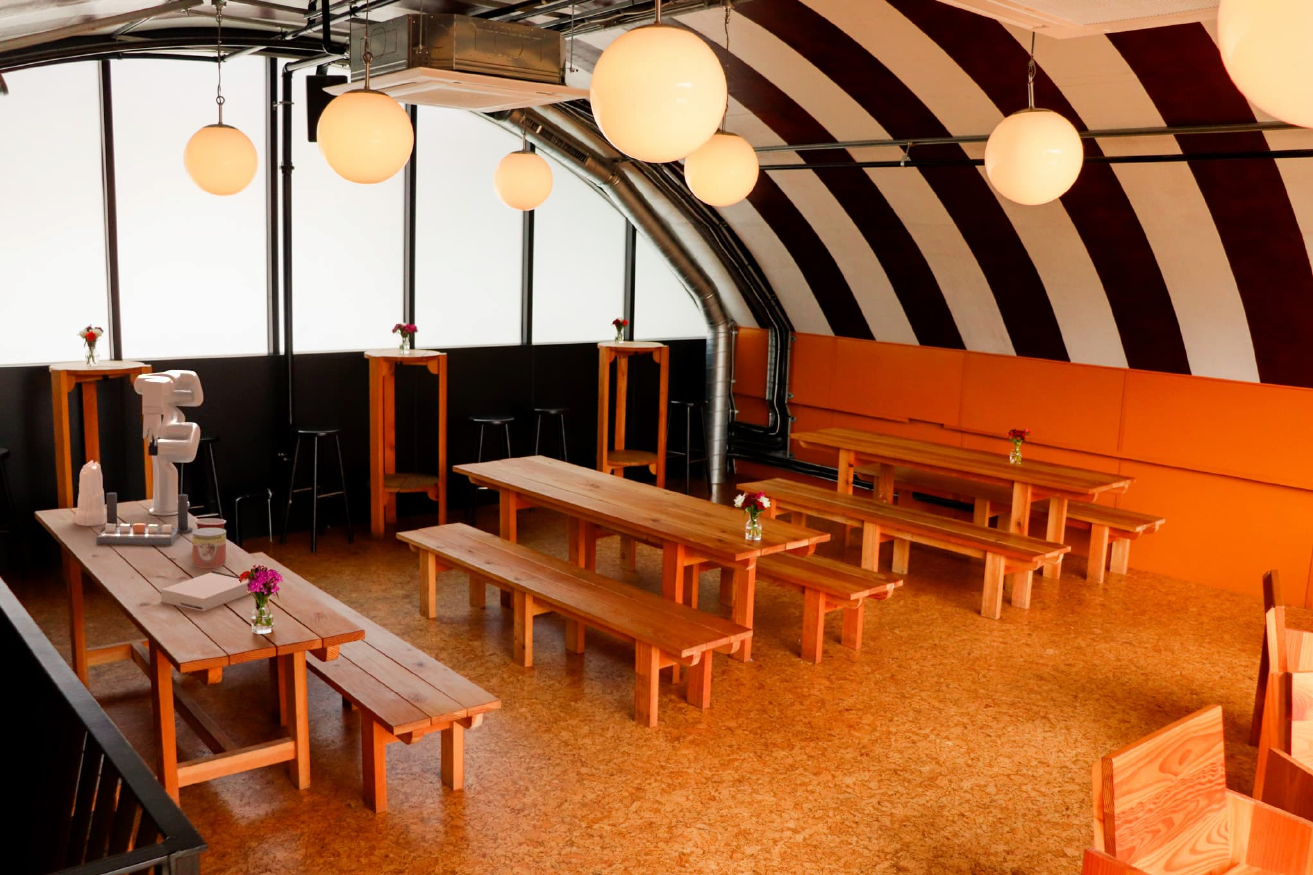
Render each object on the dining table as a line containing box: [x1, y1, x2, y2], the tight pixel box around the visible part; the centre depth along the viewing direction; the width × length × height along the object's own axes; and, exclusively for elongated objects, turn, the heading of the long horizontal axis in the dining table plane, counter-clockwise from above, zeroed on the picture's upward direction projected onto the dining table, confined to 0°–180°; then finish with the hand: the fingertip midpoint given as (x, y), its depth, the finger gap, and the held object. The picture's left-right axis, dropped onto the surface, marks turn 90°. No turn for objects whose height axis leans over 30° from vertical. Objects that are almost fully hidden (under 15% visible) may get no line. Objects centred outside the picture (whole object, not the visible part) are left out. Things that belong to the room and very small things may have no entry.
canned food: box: [192, 528, 227, 569], centre depth 379 cm, size 11×11×12 cm
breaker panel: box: [96, 523, 181, 546], centre depth 401 cm, size 14×26×6 cm, turn 103°
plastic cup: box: [194, 517, 227, 529], centre depth 394 cm, size 11×11×12 cm
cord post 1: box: [101, 492, 120, 533], centre depth 410 cm, size 7×7×15 cm
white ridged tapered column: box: [75, 459, 107, 527], centre depth 417 cm, size 11×11×25 cm
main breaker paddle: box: [132, 522, 147, 532], centre depth 401 cm, size 2×4×3 cm, turn 103°
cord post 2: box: [177, 493, 193, 535], centre depth 416 cm, size 7×7×15 cm
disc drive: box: [160, 570, 250, 612], centre depth 345 cm, size 18×22×5 cm
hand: (153, 455), depth 418 cm, fingers closed
